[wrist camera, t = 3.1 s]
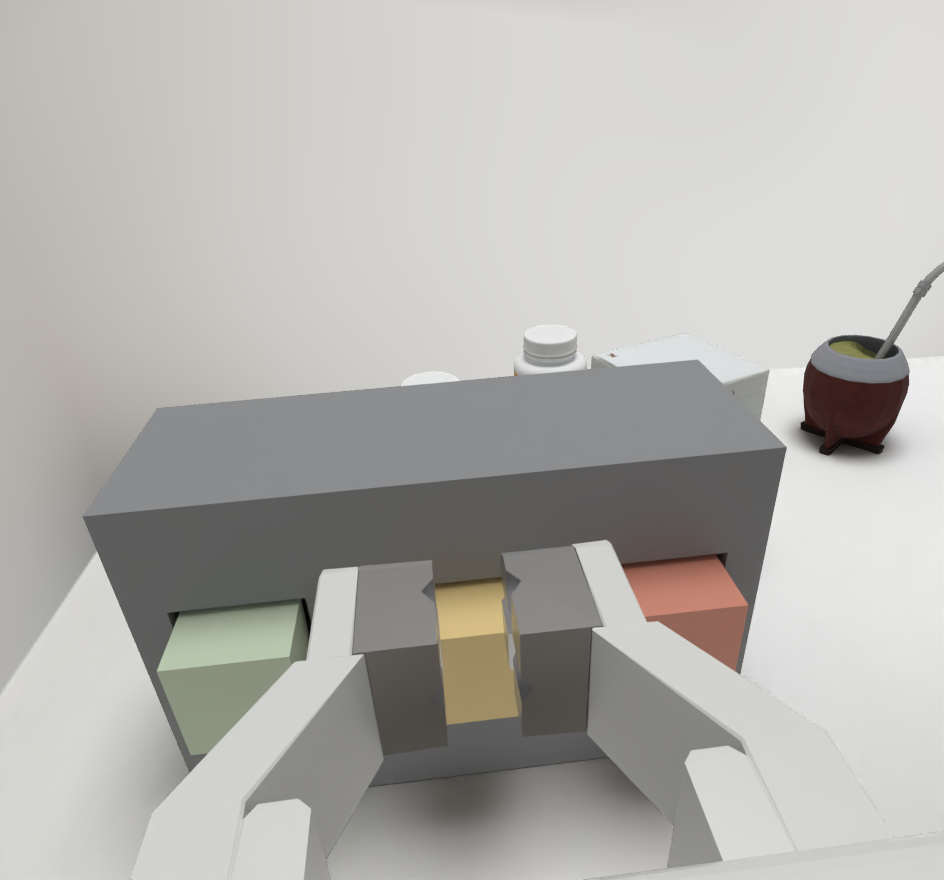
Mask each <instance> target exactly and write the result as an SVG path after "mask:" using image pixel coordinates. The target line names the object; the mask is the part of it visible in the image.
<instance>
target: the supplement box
mask: <svg viewBox="0 0 944 880" xmlns="http://www.w3.org/2000/svg"><path fill="white" fill-rule="evenodd" d="M687 360H699V361H700V362H701V363H702V364H703V365H704V366H705V367H706V368H707V369H708V370H709V371H710V372H711V373H712V374H713V375H714V376H715V377H716V378H717V379H718V380H719V381H720V382H721V383H722V384H723V385H724V386H725V387H726V388H727V389H728V390H729V391H730V392H731V393H732V394H733V395H734V396H735V397H736V398H737V399H738V400H739V401H740V402H741V403H742V404H743V405H744V406H745V407H746V408H748V409H749V410H750V411H751V412H752V413H753V414H754V415H755V416H756V417H757V418H758V419H759V420H760V419H761V413H762V408H763V403H764V397H765V391H766V386H767V380H768V375H769V369H767V368H765V367H763V366H761V365H759V364H756V363H754V362H752V361H750V360H748V359H745V358H743V357H741V356H739V355H736V354H734V353H731V352H730V351H727V350H725V349H722V348H720V347H718V346H715V345H713V344H711V343H709V342H706V341H704V340H702V339H699V338H697V337H694V336H692V335H690V334H688V333H683V334H679V335H675V336H671V337H667V338H663V339H659V340H654V341H650V342H647V343H641V344H638V345H634V346H629V347H625V348H621V349H617V350H613V351H608V352H605V353H600V354H595V355H593V356H592V363H591V369H598V368H609V367H620V366H631V365H642V364H653V363H664V362H676V361H687Z"/></svg>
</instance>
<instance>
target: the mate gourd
mask: <svg viewBox="0 0 944 880" xmlns="http://www.w3.org/2000/svg"><path fill="white" fill-rule="evenodd" d="M942 272H944V262H943V263H942V264H941V265H939V266H937V267H936V268H935V269H934V270H933V271H932V272H931V273H930V274H928V275H927V276H926V278H925V279H924V280H923V281H920V282H919V283H918V285H917V287H916V288H915V289H914V291H913V293H914V294H913V296H912V298H911V299H910V301H909V303H908V304H907V306H906V308H905V310H904V311H903V313H902V315H901V316H900V318H899V320H898V321H897V323H896V325H895V326H894V328H893V330H892V331H891V333H890V335H889V336H888V338H887V339H886V340H883V339H879V338H874V337H870V336H861V335H841V336H837V337H833V338H830V339H829V340H827V341H826V342H824V343H823V344H822V345H821V346H819V347H818V348H817V349H816V350H815V351H814V353H813V354H812V356H811V359H810V361H809V363H808V365H807V367H806V370H805V373H804V384H803V394H804V410H805V421H803V422H802V423H801V429H802V430H804V431H807V432H810V433H814V434H817V435H820V436H823V437H825V443H824V444H823V445H822V446H821V447H820V450H819V452H820V453H822V454H825V455H830V454H831V453H832V452H834V451H835V450H836V449H837V448H838V447H839V446H840V445H842V444H848V445H851V446H854V447H857V448H860V449H864V450H867V451H870V452H873V453H877V454H880V453H881V452H882V450H883V448H884V446H883V445H881V442H882V441H883V439H884V438H885V436H886V435H887V434H888V432H889V431H890V429H891V428H892V426H893V425H894V423H895V421H896V419H897V416H898V414H899V411H900V409H901V406H902V404H903V401H904V399H905V397H906V394H907V391H908V386H909V372H910V371H909V366H908V363H907V360H906V358H905V356H904V354H903V352H902V350H901V349H900V348H899V347H898V346H896V345H895V344H894V342H895V340H896V339H897V337H898V336H899V334H900V332H901V331H902V329H903V327H904V326H905V324H906V322H907V321H908V319H909V317H910V316H911V314H912V312H913V311H914V309H915V308H916V306H917V304H918V303H919V301H920V299H921V298H922V297H924V296H925V295H926V293H927V290H929V289H930V288H931V283H932V282H933V281H934V280H935V279H936V278H937V277H938V276H939V275H940V274H941V273H942Z"/></svg>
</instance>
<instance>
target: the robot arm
mask: <svg viewBox="0 0 944 880" xmlns="http://www.w3.org/2000/svg"><path fill="white" fill-rule="evenodd" d="M500 568H501V580H502V585H503V590H504V596H505V597H504V598H503V600H502V611H503V625H504V636H505V643H506V650H507V656H508V662H509V667H510V669H511V670H512V671H514V693H515V700H516V705H517V710H518V715H519V720H520V725H521V730H522V735H523V737H529V736H540V735H551V734H562V733H573V732H583V731H587V735H588V736H589V737H590V738H591V739H592V740H593V741H594V742H595V743H596V744H597V745H598V746H599V747H600V748H601V749H602V750H603V751H604V753H605V754H606V755H607V756H608V757H609V758H610V759H611V760H612V761H613V762H614V763H615V764H616V765H617V766H618V767H619V768H620V769H621V770H622V772H623V773H624V774H625V775H626V776H627V777H628V778H629V779H630V780H631V781H632V782H633V783H634V784H635V785H636V786H637V787H638V788H639V789H640V791H641V792H642V793H643V794H644V795H645V796H646V797H647V798H648V799H649V800H650V801H651V802H652V803H653V804H654V805H655V806H656V807H657V808H658V810H659V811H660V812H661V813H662V814H663V815H664V816H665V817H666V818H667V819H668V820H669V821H670V822H671V823H672V824H673V825H674V830H673V836H672V842H671V848H670V854H669V860H668V866H667V869H659V870H652V871H644V872H637V873H629V874H622V875H615V876H607V877H600V878H592V879H585V880H944V831H942V832H935V833H927V834H920V835H912V836H905V837H897V838H895V837H894V836H893V834H892V833H891V831H890V830H889V828H888V826H887V825H886V823H885V822H884V820H883V819H882V817H881V816H880V814H879V812H878V811H877V809H876V808H875V806H874V805H873V803H872V802H871V800H870V798H869V797H868V795H867V794H866V792H865V791H864V789H863V787H862V786H861V784H860V783H859V781H858V780H857V778H856V777H855V775H854V773H853V772H852V770H851V769H850V767H849V766H848V764H847V763H846V761H845V759H844V758H843V756H842V755H841V753H840V752H839V750H838V749H837V747H836V745H835V744H834V742H833V741H832V739H831V738H830V736H829V734H828V733H827V731H825V730H824V729H822V728H821V727H819V726H818V725H816V724H815V723H813V722H812V721H810V720H808V719H807V718H805V717H804V716H802V715H801V714H799V713H798V712H796V711H795V710H793V709H792V708H790V707H789V706H787V705H786V704H784V703H782V702H781V701H779V700H778V699H776V698H775V697H773V696H772V695H770V694H769V693H767V692H766V691H764V690H763V689H761V688H760V687H758V686H756V685H755V684H753V683H752V682H750V681H749V680H747V679H746V678H744V677H743V676H741V675H740V674H738V673H737V672H735V671H734V670H732V669H730V668H729V667H727V666H726V665H724V664H723V663H721V662H720V661H718V660H717V659H715V658H714V657H712V656H711V655H709V654H708V653H706V652H704V651H703V650H701V649H700V648H698V647H697V646H695V645H694V644H692V643H691V642H689V641H688V640H686V639H685V638H683V637H682V636H680V635H678V634H677V633H675V632H674V631H672V630H671V629H669V628H668V627H666V626H665V625H663V624H662V623H660V622H659V621H655V622H647V621H646V619H645V616H644V614H643V612H642V610H641V608H640V605H639V603H638V601H637V599H636V597H635V594H634V592H633V590H632V588H631V586H630V583H629V581H628V579H627V577H626V575H625V572H624V570H623V568H622V566H621V564H620V561H619V559H618V557H617V555H616V553H615V550H614V548H613V546H612V544H611V543H610V542H609V541H607V540H602V541H594V542H586V543H579V544H572V545H571V546H561V547H552V548H543V549H534V550H525V551H516V552H507V553H501V557H500ZM445 746H448V732H447V717H446V702H445V692H444V682H443V664H442V652H441V640H440V629H439V619H438V609H437V603H436V591H435V581H434V573H433V564H432V560H427V561H415V562H402V563H390V564H378V565H366V566H360V567H348V568H337V569H325V570H323V571H322V573H321V574H320V576H319V580H318V586H317V593H316V599H315V606H314V612H313V619H312V625H311V632H310V638H309V645H308V651H307V657H306V661H298V662H294V663H293V664H292V665H291V666H290V667H289V668H288V669H287V670H286V671H285V673H284V674H283V675H282V676H281V677H280V678H279V679H278V680H277V681H276V682H275V683H274V684H273V685H272V686H271V687H270V688H269V689H268V691H267V692H266V693H265V694H264V695H263V696H262V697H261V698H260V699H259V700H258V701H257V702H256V703H255V704H254V705H253V706H252V708H251V709H250V710H249V711H248V712H247V713H246V714H245V715H244V716H243V717H242V718H241V719H240V720H239V721H238V722H237V723H236V724H235V726H234V727H233V728H232V729H231V730H230V731H229V732H228V733H227V734H226V735H225V736H224V737H223V738H222V739H221V740H220V741H219V742H218V744H217V745H216V746H215V747H214V748H213V749H212V750H211V751H210V752H209V753H208V754H207V755H206V756H205V757H204V758H203V759H202V760H201V762H200V763H199V764H198V765H197V766H196V767H195V768H194V769H193V770H192V771H191V772H190V773H189V774H188V775H187V776H186V777H185V779H184V780H183V781H182V782H181V783H180V784H179V785H178V786H177V787H176V788H175V789H174V790H173V791H172V792H171V793H170V794H169V795H168V797H167V798H166V799H165V800H164V801H163V802H162V803H161V804H160V805H159V806H158V807H157V808H156V809H155V810H154V811H153V812H152V815H151V818H150V821H149V824H148V827H147V830H146V833H145V836H144V839H143V842H142V845H141V848H140V851H139V854H138V857H137V860H136V863H135V866H134V869H133V872H132V875H131V878H130V880H331V878H330V874H329V871H328V867H327V864H326V859H327V858H328V856H329V854H330V852H331V851H332V849H333V847H334V846H335V844H336V842H337V840H338V839H339V837H340V835H341V833H342V832H343V830H344V828H345V826H346V825H347V823H348V821H349V819H350V818H351V816H352V814H353V812H354V811H355V809H356V807H357V805H358V804H359V802H360V800H361V799H362V797H363V795H364V793H365V792H366V790H367V788H368V786H369V785H370V783H371V781H372V779H373V778H374V776H375V774H376V772H377V771H378V769H379V767H380V765H381V764H382V762H383V760H384V759H383V756H385V755H392V754H398V753H405V752H412V751H419V750H425V749H432V748H439V747H445Z"/></svg>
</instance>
